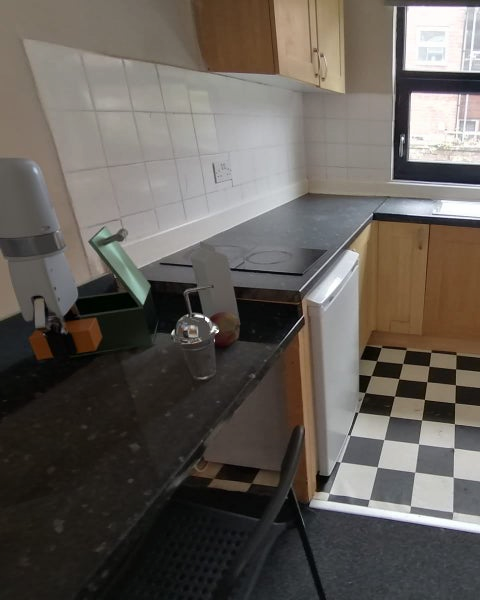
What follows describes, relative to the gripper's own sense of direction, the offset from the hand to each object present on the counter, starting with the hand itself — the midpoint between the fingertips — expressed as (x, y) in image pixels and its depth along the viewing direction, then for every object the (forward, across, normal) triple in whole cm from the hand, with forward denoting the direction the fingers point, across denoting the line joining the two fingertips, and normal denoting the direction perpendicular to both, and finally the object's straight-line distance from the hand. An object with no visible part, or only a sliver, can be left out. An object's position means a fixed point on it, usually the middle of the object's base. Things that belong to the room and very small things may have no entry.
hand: (70, 345), depth 69 cm
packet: (0, 0, 0) cm, 0 cm away
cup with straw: (+13, -3, +19) cm, 23 cm away
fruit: (+13, -14, +23) cm, 30 cm away
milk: (+13, -25, +23) cm, 36 cm away
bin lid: (-5, -27, +4) cm, 28 cm away
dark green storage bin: (+13, -27, 0) cm, 30 cm away
